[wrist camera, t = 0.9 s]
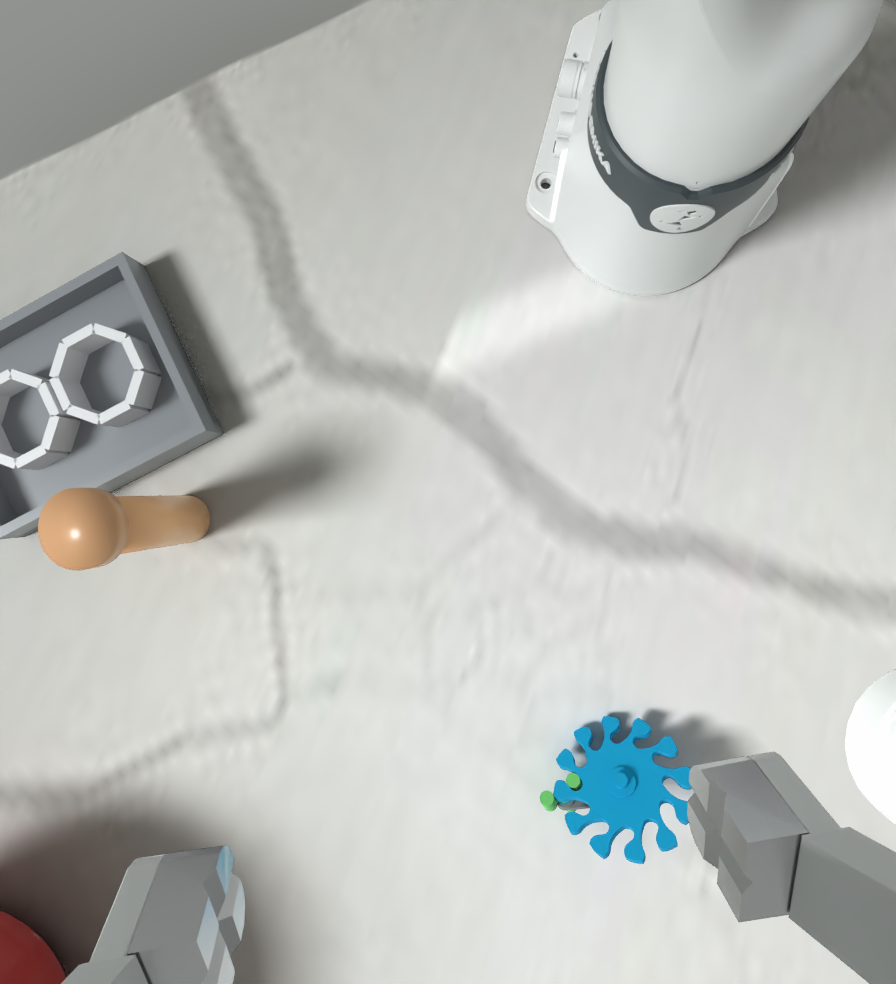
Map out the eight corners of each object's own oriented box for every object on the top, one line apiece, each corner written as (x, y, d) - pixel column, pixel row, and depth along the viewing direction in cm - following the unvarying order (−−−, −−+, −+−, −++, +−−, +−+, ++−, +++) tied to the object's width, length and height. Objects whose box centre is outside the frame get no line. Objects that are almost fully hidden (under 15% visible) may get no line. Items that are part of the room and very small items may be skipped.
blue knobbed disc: (674, 703, 46) (713, 852, 39) (679, 734, 50) (716, 875, 43) (531, 722, 49) (544, 865, 42) (547, 750, 53) (561, 885, 46)
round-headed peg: (160, 486, 52) (40, 484, 39) (219, 490, 51) (117, 490, 38) (156, 547, 52) (35, 566, 39) (215, 551, 52) (112, 573, 38)
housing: (223, 433, 51) (202, 429, 48) (25, 536, 53) (-9, 539, 50) (144, 265, 52) (118, 249, 49) (-49, 372, 54) (-88, 364, 50)
